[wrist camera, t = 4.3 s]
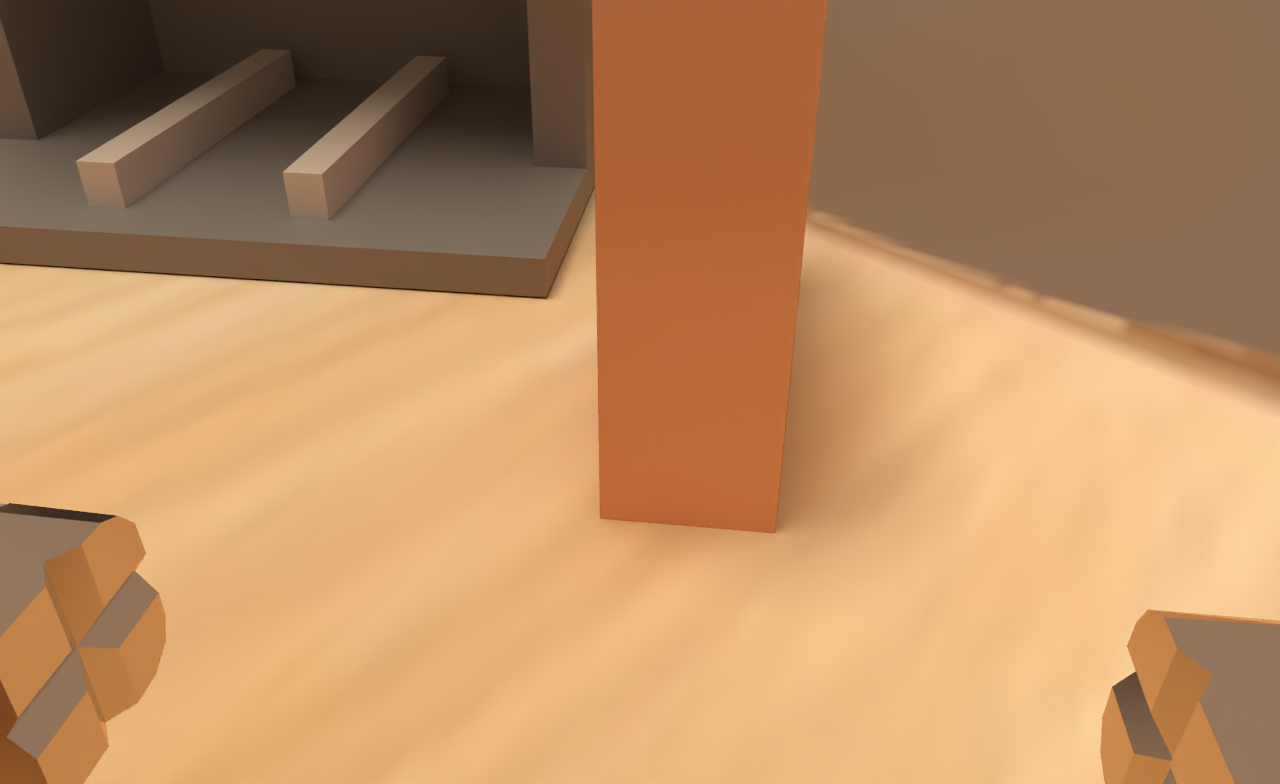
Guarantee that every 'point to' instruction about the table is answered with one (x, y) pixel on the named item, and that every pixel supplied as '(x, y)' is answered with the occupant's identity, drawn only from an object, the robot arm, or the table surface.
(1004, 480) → the table surface
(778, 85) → the tile panel
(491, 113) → the overhang dock
